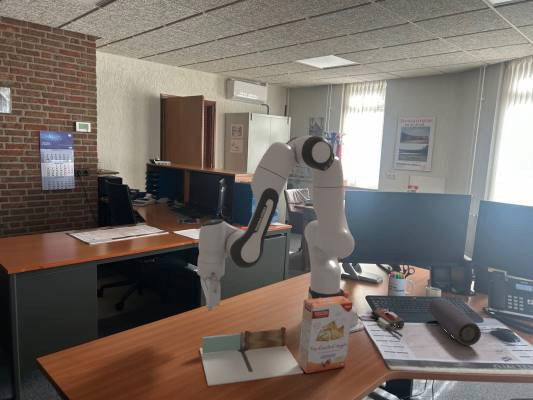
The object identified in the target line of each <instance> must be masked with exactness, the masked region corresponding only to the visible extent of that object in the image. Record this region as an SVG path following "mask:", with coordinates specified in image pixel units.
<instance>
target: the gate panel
mask: <svg viewBox="0 0 533 400" xmlns="http://www.w3.org/2000/svg"><path fill="white" fill-rule="evenodd" d="M244 334H245V331H240V333H239V332H238V333H228V334H220V335H219V334H218V335H211V336H202V344H201V345H202V347H201V348H202V353H212V352H221V351H230V350H239V349H240V350H243V343H244Z"/></svg>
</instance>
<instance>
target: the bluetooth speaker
mask: <svg viewBox="0 0 533 400" xmlns="http://www.w3.org/2000/svg"><path fill="white" fill-rule="evenodd" d="M428 306H429V307H428V311H429V312H430V314H431V316H432V317H433V318H434V319H435V320H436V322H437V323H438V324H439V325H440V326H441V328H444V329H445V330H446V331H447V332H448V333H449V334H450V335H452V336H453V337H454V338H455V339H456V341H457V342H459V343H460V344H462V345H464V346H473V345H475V344H477V343H478V342H479V341H480V339H481V337H482V331H481V328H480V327H479V325H478V324H477V323H476V322H475V321H474V320H473V319H472V318H471V317H470V316H468V314H466V313H465V312H464V311H463V310H462V309H460V308H459V307H458V306H457V305H455V304H454V303H453V302H452V301H450V300H449V299H446V298H444V297H441V296H438V297H435V298H433V299H432V300H431V302H430V303H429V305H428ZM444 329H443V330H444ZM445 330H444V331H445ZM446 331H445V332H446ZM447 332H446V333H447ZM448 333H447V334H448ZM449 334H448V335H449ZM450 335H449V336H450ZM455 339H454V340H455Z"/></svg>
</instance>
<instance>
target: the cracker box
mask: <svg viewBox="0 0 533 400" xmlns="http://www.w3.org/2000/svg"><path fill="white" fill-rule="evenodd" d="M352 306H353V302H352V301H351V300H349V299H348V298H345V297H344V296H337V297H327V298H316V299H308V298H307V299H304V300H303V306H302V316H301V318H302V319H301V327H300V338H299V350H298V360H297V363H298V365H299V366H300V368H301V369H302V371H303V372H304V373H306V375H307V374H311V373H315V372H316V373H317V372H321V371H327V370H332V369H338V368H343V367H346V363H347V354H348V345H349V338H350V336H349V335H350V333H349V330H350V322H351V313H352Z"/></svg>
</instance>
